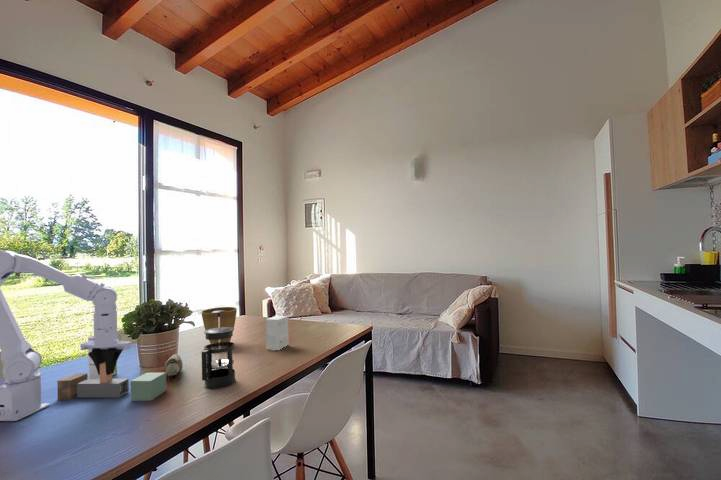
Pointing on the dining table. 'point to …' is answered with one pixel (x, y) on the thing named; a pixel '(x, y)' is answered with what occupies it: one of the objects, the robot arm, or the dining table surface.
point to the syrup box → (92, 368)
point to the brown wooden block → (69, 386)
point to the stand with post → (102, 386)
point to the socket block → (148, 386)
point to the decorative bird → (173, 366)
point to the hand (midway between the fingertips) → (106, 373)
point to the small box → (277, 332)
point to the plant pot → (225, 320)
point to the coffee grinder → (221, 374)
